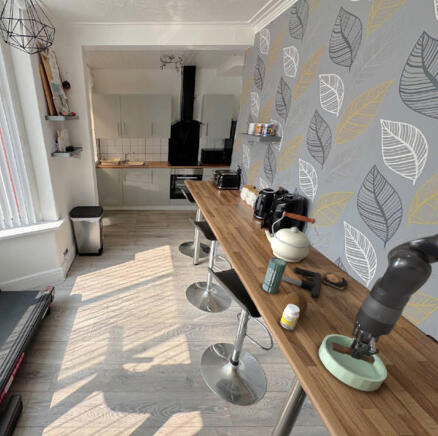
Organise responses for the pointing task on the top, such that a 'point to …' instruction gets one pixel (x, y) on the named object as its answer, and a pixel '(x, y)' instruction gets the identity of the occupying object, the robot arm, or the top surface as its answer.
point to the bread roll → (335, 281)
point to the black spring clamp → (307, 285)
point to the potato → (296, 302)
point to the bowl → (351, 365)
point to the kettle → (291, 240)
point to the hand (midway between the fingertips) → (354, 354)
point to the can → (274, 275)
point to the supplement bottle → (290, 316)
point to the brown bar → (348, 351)
